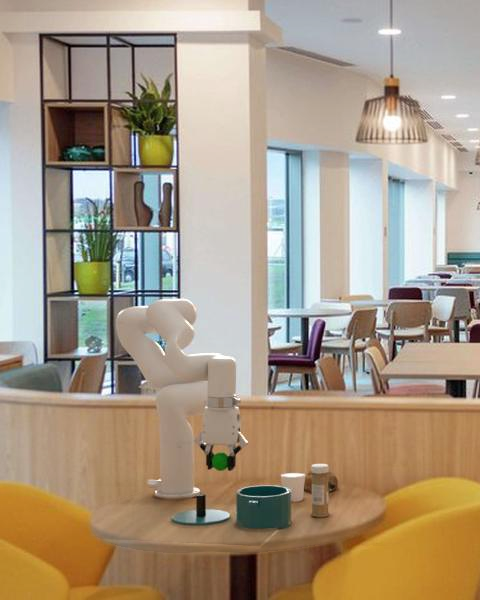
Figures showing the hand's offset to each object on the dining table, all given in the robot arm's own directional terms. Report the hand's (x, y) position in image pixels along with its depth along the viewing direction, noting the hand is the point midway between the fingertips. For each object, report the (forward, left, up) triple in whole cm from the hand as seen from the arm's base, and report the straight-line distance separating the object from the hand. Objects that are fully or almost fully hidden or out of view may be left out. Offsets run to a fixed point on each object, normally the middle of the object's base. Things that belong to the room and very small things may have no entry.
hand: (220, 468), depth 288 cm
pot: (+17, -15, -11) cm, 25 cm away
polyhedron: (0, 0, -1) cm, 1 cm away
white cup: (+17, +13, -11) cm, 23 cm away
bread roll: (+21, +27, -11) cm, 35 cm away
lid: (0, -14, -10) cm, 18 cm away
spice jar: (+29, -4, -11) cm, 31 cm away
